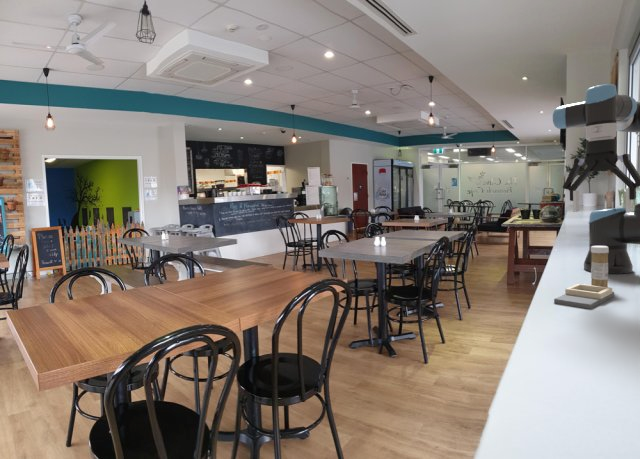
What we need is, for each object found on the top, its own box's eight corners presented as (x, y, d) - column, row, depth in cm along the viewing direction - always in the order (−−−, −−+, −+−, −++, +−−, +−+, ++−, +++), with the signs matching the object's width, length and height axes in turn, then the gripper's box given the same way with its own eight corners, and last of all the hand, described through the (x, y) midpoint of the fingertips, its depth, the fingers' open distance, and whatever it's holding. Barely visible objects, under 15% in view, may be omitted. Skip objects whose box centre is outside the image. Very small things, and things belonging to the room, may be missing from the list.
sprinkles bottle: (597, 286, 133) (597, 244, 132) (611, 289, 129) (612, 246, 128) (587, 288, 132) (587, 246, 130) (601, 291, 127) (601, 247, 126)
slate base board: (579, 291, 128) (579, 282, 128) (614, 296, 121) (614, 287, 121) (554, 303, 117) (554, 293, 117) (590, 309, 110) (590, 298, 110)
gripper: (550, 144, 131) (552, 212, 133) (650, 133, 111) (649, 212, 113) (560, 145, 135) (561, 210, 137) (657, 133, 116) (656, 209, 118)
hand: (601, 211), depth 125 cm, fingers open, 13 cm apart
